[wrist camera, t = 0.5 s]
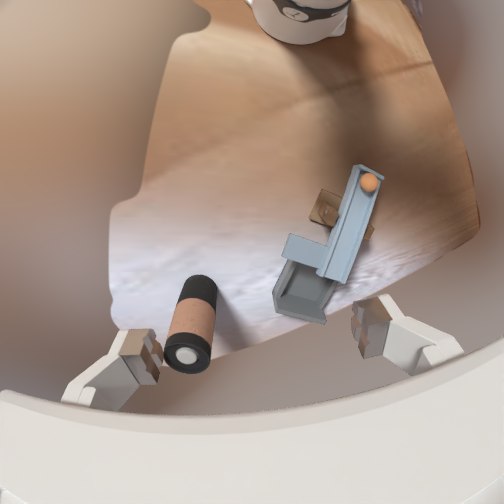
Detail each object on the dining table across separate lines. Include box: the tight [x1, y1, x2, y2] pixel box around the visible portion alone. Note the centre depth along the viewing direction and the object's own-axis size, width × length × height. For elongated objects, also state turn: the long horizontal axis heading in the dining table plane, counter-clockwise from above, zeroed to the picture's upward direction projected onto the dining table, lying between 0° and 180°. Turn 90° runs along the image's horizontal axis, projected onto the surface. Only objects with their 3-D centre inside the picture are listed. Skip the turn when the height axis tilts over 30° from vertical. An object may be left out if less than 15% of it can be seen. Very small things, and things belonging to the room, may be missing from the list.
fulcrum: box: [309, 189, 374, 241], centre depth 48 cm, size 6×10×7 cm, turn 70°
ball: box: [360, 173, 378, 192], centre depth 43 cm, size 3×3×3 cm
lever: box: [281, 164, 385, 284], centre depth 45 cm, size 20×12×3 cm, turn 161°
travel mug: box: [163, 275, 217, 374], centre depth 49 cm, size 8×8×20 cm
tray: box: [272, 259, 338, 324], centre depth 54 cm, size 12×11×7 cm
